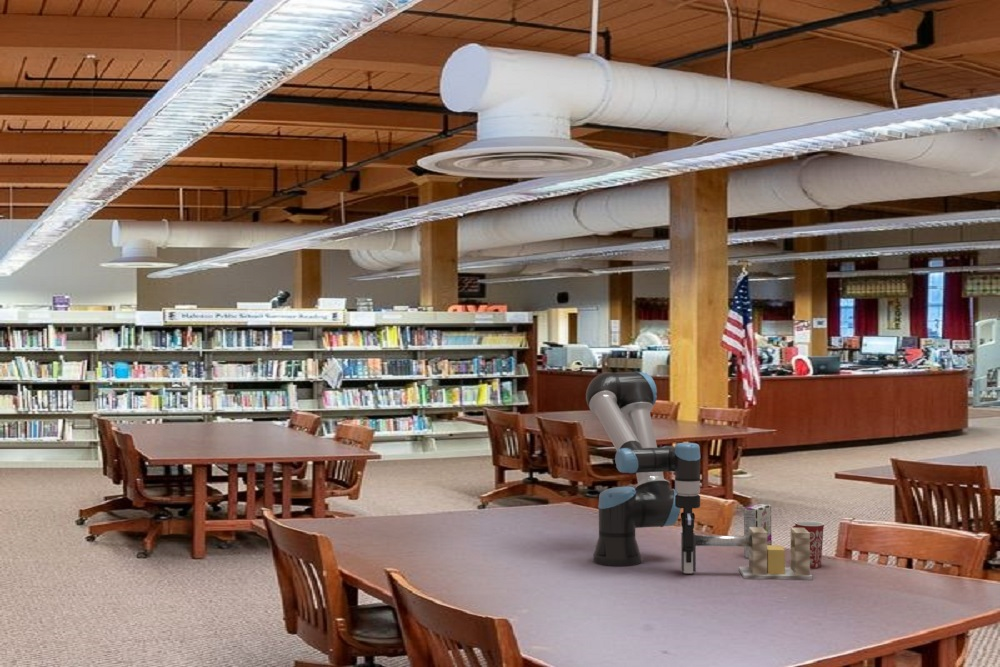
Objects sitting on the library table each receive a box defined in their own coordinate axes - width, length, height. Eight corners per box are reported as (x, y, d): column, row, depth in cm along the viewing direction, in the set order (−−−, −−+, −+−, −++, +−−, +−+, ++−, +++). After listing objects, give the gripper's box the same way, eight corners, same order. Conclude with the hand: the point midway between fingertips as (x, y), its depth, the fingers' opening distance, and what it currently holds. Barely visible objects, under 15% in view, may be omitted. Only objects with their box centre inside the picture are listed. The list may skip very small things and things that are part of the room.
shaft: (682, 571, 358) (682, 534, 358) (681, 568, 362) (681, 532, 362) (762, 572, 357) (762, 535, 357) (761, 569, 361) (761, 533, 361)
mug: (830, 567, 369) (830, 524, 369) (806, 569, 366) (806, 526, 366) (805, 560, 381) (805, 518, 381) (781, 562, 377) (781, 520, 377)
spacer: (767, 573, 355) (767, 549, 355) (764, 568, 362) (764, 545, 362) (784, 574, 354) (784, 549, 354) (780, 569, 362) (780, 545, 362)
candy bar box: (758, 552, 394) (758, 503, 394) (772, 554, 391) (772, 504, 391) (743, 558, 385) (743, 507, 385) (757, 559, 382) (757, 508, 382)
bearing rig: (743, 578, 353) (743, 533, 353) (738, 570, 365) (738, 526, 366) (812, 579, 351) (812, 533, 351) (804, 570, 364) (804, 526, 364)
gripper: (702, 498, 351) (702, 577, 351) (697, 490, 369) (697, 566, 368) (677, 498, 352) (677, 577, 352) (673, 490, 369) (673, 565, 369)
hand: (687, 571), depth 360 cm, fingers closed on shaft, 4 cm apart
